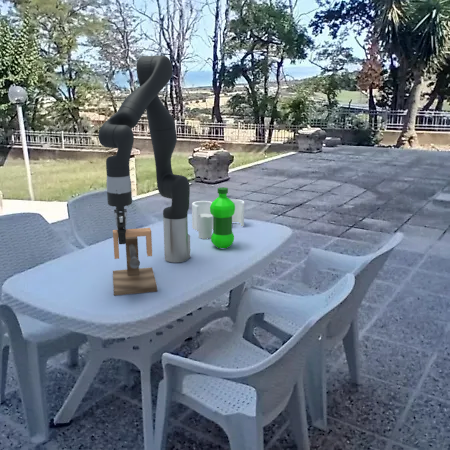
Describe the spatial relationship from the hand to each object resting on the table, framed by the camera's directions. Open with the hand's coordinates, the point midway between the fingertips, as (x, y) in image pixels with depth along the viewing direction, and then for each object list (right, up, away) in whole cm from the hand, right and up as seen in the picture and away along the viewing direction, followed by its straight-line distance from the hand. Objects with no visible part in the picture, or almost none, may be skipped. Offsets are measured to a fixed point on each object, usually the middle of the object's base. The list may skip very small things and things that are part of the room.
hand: (122, 241), depth 154 cm
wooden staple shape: (+3, -5, +2) cm, 6 cm away
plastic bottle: (+32, -4, +46) cm, 57 cm away
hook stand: (+3, -15, +8) cm, 17 cm away
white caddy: (+30, +4, +74) cm, 80 cm away
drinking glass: (+24, 0, +59) cm, 64 cm away
